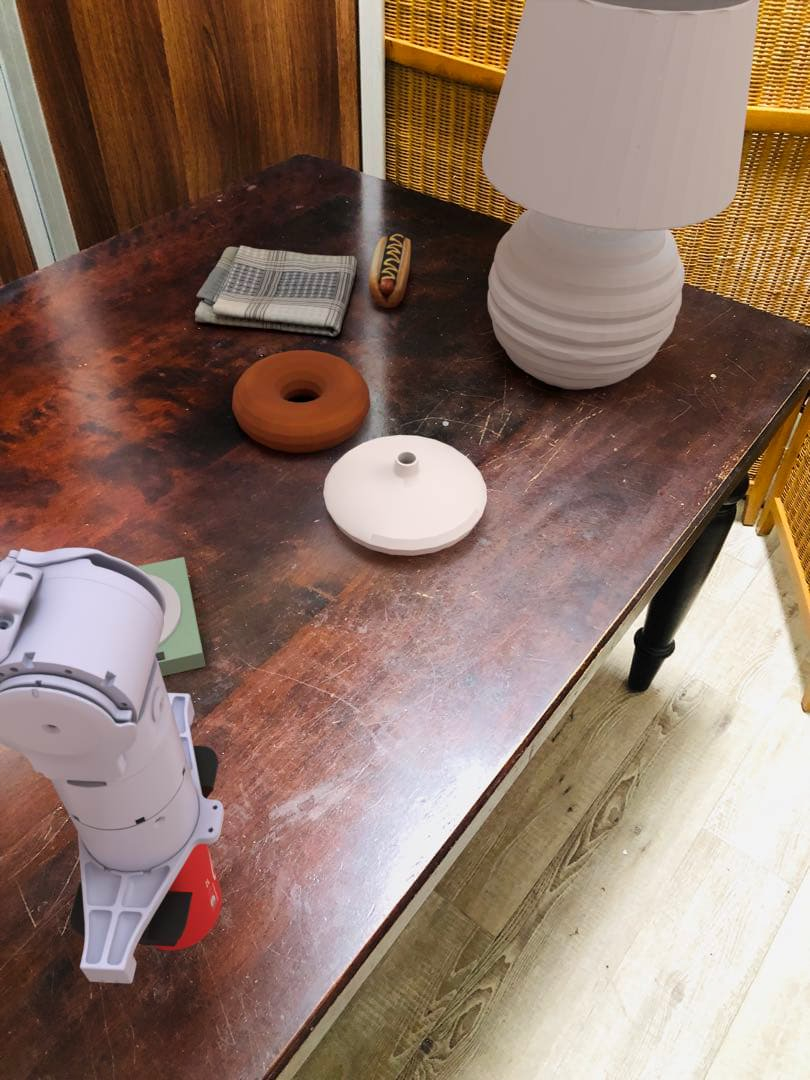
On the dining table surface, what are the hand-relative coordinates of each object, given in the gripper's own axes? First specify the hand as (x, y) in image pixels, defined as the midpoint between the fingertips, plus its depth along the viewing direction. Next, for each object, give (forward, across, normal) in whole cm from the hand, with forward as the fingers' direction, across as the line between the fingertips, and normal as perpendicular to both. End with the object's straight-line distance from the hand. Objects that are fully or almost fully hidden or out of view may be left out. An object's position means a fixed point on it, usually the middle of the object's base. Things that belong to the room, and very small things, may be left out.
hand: (170, 888), depth 51 cm
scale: (+10, +26, +11) cm, 30 cm away
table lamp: (+10, +68, -31) cm, 76 cm away
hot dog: (+10, +83, -9) cm, 84 cm away
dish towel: (+10, +80, +5) cm, 81 cm away
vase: (+10, +42, -12) cm, 45 cm away
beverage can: (+4, 0, 0) cm, 4 cm away
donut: (+10, +56, -1) cm, 57 cm away
